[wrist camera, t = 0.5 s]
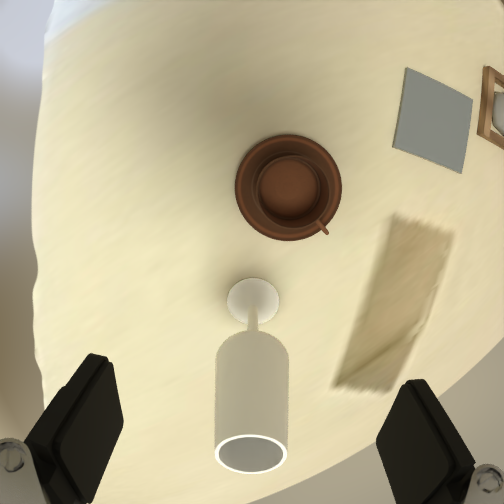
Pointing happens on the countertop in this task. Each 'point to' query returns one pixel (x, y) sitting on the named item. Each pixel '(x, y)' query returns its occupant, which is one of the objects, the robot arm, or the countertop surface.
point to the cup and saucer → (288, 188)
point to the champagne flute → (251, 385)
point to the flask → (498, 111)
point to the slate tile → (433, 121)
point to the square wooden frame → (489, 105)
